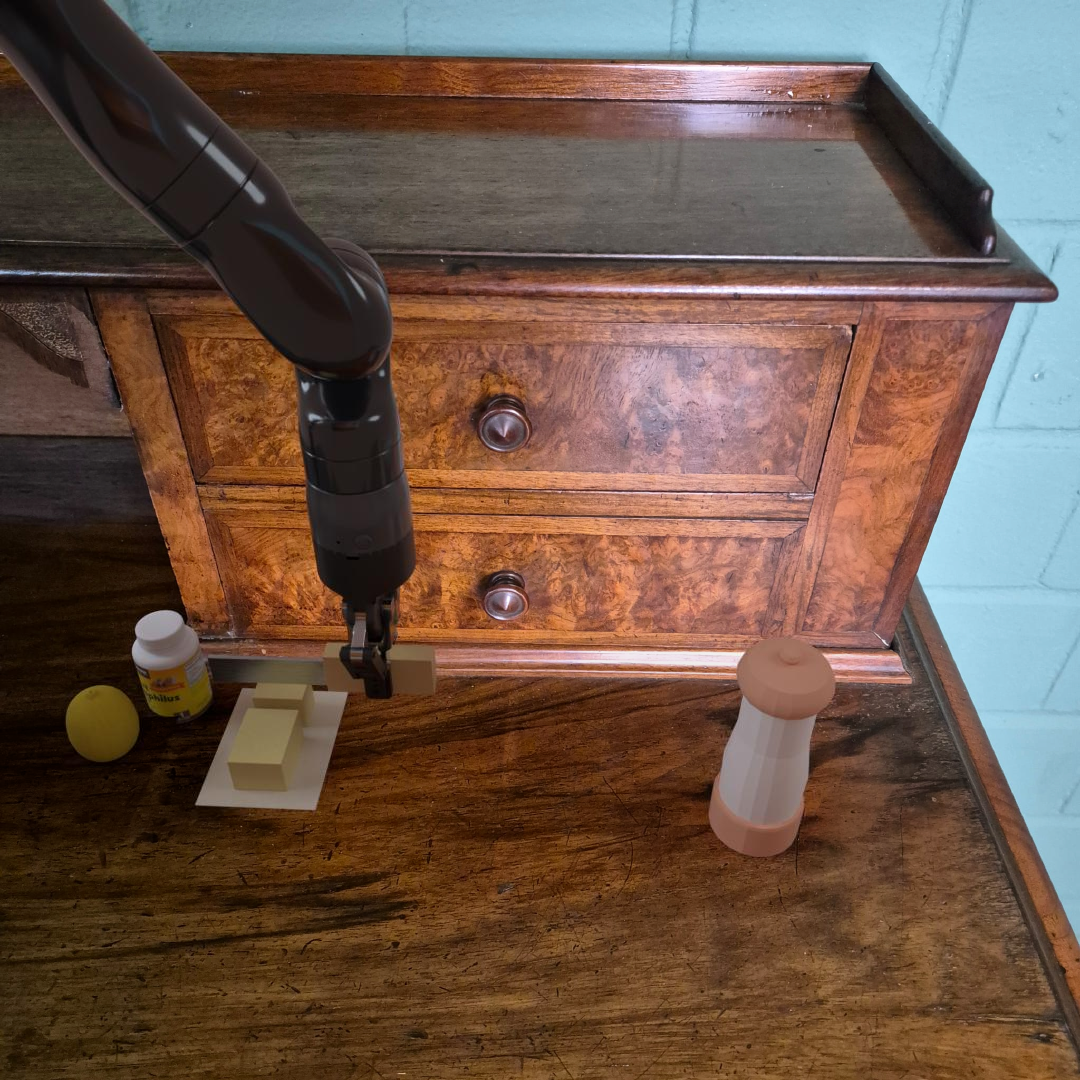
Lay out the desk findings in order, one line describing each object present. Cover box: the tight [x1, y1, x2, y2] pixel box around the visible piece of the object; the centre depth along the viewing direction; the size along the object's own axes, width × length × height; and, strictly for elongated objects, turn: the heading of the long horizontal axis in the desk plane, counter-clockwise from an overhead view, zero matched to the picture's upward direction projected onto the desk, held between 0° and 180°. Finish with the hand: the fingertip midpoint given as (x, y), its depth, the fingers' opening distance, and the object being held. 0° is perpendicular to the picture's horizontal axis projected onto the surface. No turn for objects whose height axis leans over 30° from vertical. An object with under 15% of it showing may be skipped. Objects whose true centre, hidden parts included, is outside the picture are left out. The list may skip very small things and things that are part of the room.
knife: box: [206, 641, 438, 696], centre depth 80 cm, size 19×2×4 cm, turn 88°
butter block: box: [227, 708, 304, 791], centre depth 81 cm, size 4×6×4 cm
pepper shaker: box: [707, 636, 836, 858], centre depth 73 cm, size 7×7×19 cm
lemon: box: [65, 684, 140, 763], centre depth 81 cm, size 6×6×8 cm
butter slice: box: [252, 683, 315, 726], centre depth 85 cm, size 4×3×4 cm, turn 88°
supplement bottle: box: [131, 609, 214, 725], centre depth 85 cm, size 6×6×10 cm
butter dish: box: [194, 687, 349, 811], centre depth 83 cm, size 10×13×1 cm
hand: (382, 685), depth 81 cm, fingers closed on knife, 2 cm apart
